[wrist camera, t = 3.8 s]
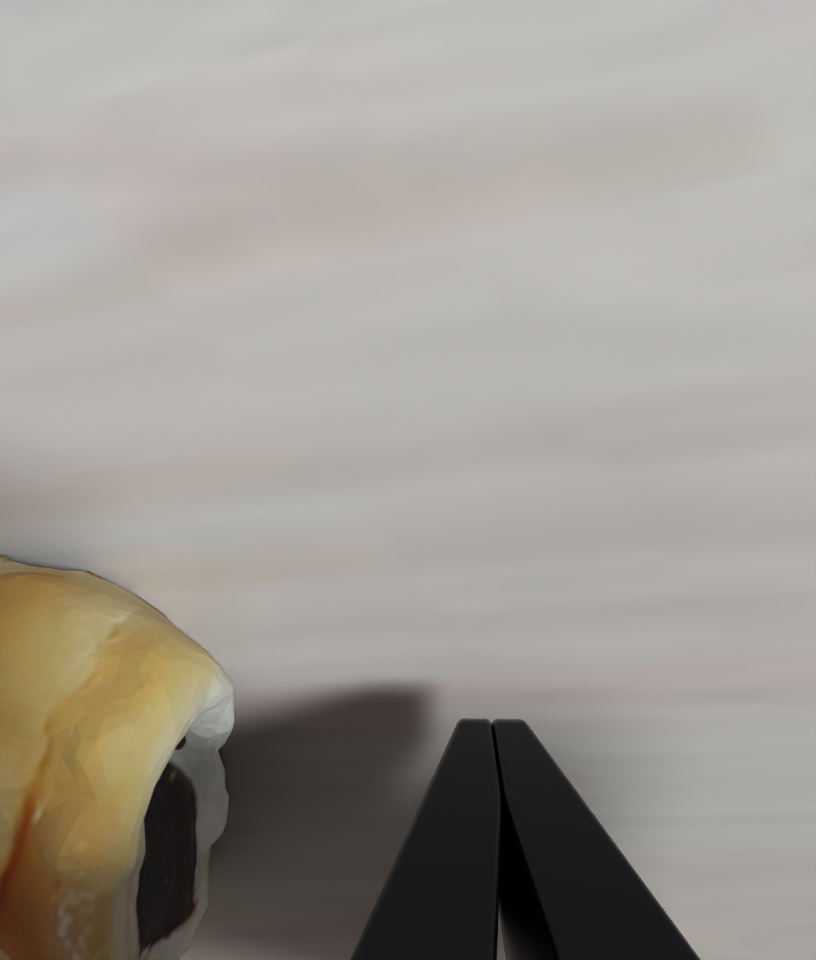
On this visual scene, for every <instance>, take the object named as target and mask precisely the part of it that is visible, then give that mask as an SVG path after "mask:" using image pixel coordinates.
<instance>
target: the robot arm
mask: <svg viewBox="0 0 816 960" xmlns="http://www.w3.org/2000/svg"><path fill="white" fill-rule="evenodd" d="M499 914H500V922H501V929H502V935H503V942H504V948H505V954H506V959H507V960H700V958H699V957H698V956H697V954H696V953H695V952H694V950H693V949H692V948H691V946H690V945H689V943H688V942H687V941H686V939H685V938H684V937H683V935H682V934H681V933H680V931H679V930H678V928H677V927H676V926H675V924H674V923H673V922H672V920H671V919H670V918H669V916H668V915H667V914H666V912H665V911H664V909H663V908H662V907H661V905H660V904H659V903H658V901H657V900H656V899H655V897H654V896H653V894H652V893H651V892H650V890H649V889H648V888H647V886H646V885H645V884H644V882H643V881H642V879H641V878H640V877H639V875H638V874H637V873H636V871H635V870H634V869H633V867H632V866H631V865H630V863H629V862H628V860H627V859H626V858H625V856H624V855H623V854H622V852H621V851H620V850H619V848H618V847H617V845H616V844H615V843H614V841H613V840H612V839H611V837H610V836H609V835H608V833H607V832H606V831H605V829H604V828H603V826H602V825H601V824H600V822H599V821H598V820H597V818H596V817H595V816H594V814H593V813H592V811H591V810H590V809H589V807H588V806H587V805H586V803H585V802H584V801H583V799H582V798H581V796H580V795H579V794H578V792H577V791H576V790H575V788H574V787H573V786H572V784H571V783H570V782H569V780H568V779H567V777H566V776H565V775H564V773H563V772H562V771H561V769H560V768H559V767H558V765H557V764H556V762H555V761H554V760H553V758H552V757H551V756H550V754H549V753H548V752H547V750H546V749H545V747H544V746H543V745H542V743H541V742H540V741H539V739H538V738H537V737H536V735H535V734H534V733H533V731H532V730H531V728H530V727H529V726H528V724H527V723H526V722H525V721H523V720H520V719H496V720H494V721H493V723H492V724H491V722H490V721H489V720H488V719H461V720H459V722H458V723H457V725H456V727H455V729H454V731H453V734H452V736H451V738H450V740H449V743H448V745H447V747H446V749H445V751H444V754H443V756H442V758H441V760H440V763H439V765H438V767H437V769H436V771H435V774H434V776H433V778H432V780H431V783H430V785H429V787H428V789H427V791H426V794H425V796H424V798H423V800H422V803H421V805H420V807H419V809H418V811H417V814H416V816H415V818H414V820H413V823H412V825H411V827H410V829H409V831H408V834H407V836H406V838H405V840H404V842H403V845H402V847H401V849H400V851H399V854H398V856H397V858H396V860H395V862H394V865H393V867H392V869H391V871H390V874H389V876H388V878H387V880H386V882H385V885H384V887H383V889H382V891H381V894H380V896H379V898H378V900H377V902H376V905H375V907H374V909H373V911H372V914H371V916H370V918H369V920H368V922H367V925H366V927H365V929H364V931H363V934H362V936H361V938H360V940H359V942H358V945H357V947H356V949H355V951H354V954H353V956H352V958H351V960H497V939H498V915H499Z"/></svg>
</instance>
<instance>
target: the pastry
mask: <svg viewBox="0 0 816 960" xmlns="http://www.w3.org/2000/svg"><path fill="white" fill-rule="evenodd" d="M233 695H234V686H233V683H232V681H231V680H230V678H229V676H228V675H227V673H226V672H225V671H224V669H223V668H222V667H221V665H220V664H219V663H218V662H217V661H216V660H215V659H214V658H213V657H212V656H211V655H210V654H209V652H208V651H207V650H205V649H204V648H203V647H201V646H200V645H199V644H198V643H196V642H195V641H194V640H192V639H191V638H190V637H188V636H187V635H186V634H184V633H183V632H182V631H181V630H179V629H178V628H177V627H176V626H175V625H174V624H173V623H172V622H171V621H170V620H169V619H168V618H167V617H166V616H165V615H164V614H163V613H161V612H160V611H159V610H158V609H156V608H155V607H153V606H152V605H150V604H149V603H148V602H146V601H145V600H143V599H142V598H140V597H139V596H137V595H135V594H133V593H131V592H130V591H128V590H126V589H124V588H122V587H120V586H118V585H116V584H114V583H112V582H111V581H108V580H106V579H104V578H102V577H99V576H97V575H95V574H93V573H91V572H90V571H73V570H59V569H52V568H44V567H36V566H30V565H26V564H22V563H17V562H14V561H11V560H9V557H8V556H6V555H5V556H0V960H180V958H181V956H182V955H183V953H184V952H185V951H186V950H187V948H188V947H189V946H190V944H191V941H192V939H193V937H194V935H195V933H196V931H197V929H198V927H199V924H200V922H201V921H202V919H203V917H204V915H205V913H206V911H207V908H208V904H209V867H208V863H209V858H210V852H211V849H212V847H211V845H212V844H213V843H214V842H215V841H216V840H217V839H218V838H219V837H220V836H221V835H222V833H223V831H224V828H225V825H226V821H227V817H228V804H229V798H230V797H229V794H228V792H227V790H226V784H225V769H224V766H223V763H222V760H221V758H220V755H219V752H218V750H219V749H220V748H221V747H222V746H223V745H224V744H225V742H226V741H227V739H228V737H229V735H230V733H231V732H232V729H233V725H234V722H235V718H234V700H233Z"/></svg>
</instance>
